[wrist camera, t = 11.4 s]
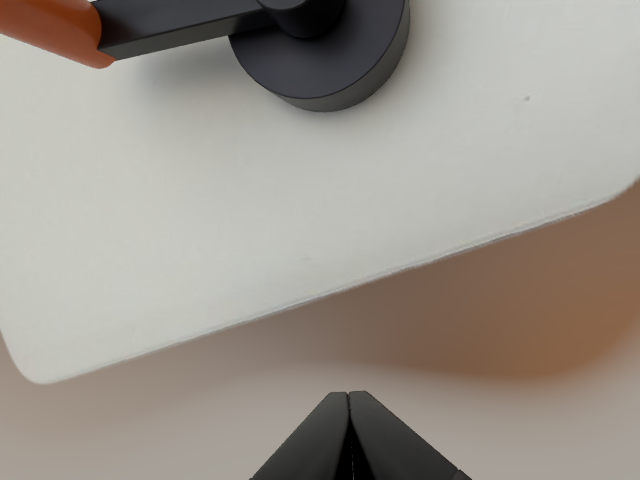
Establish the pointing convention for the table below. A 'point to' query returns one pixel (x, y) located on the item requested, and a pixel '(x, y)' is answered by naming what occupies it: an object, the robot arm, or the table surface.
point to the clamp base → (328, 56)
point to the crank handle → (151, 23)
